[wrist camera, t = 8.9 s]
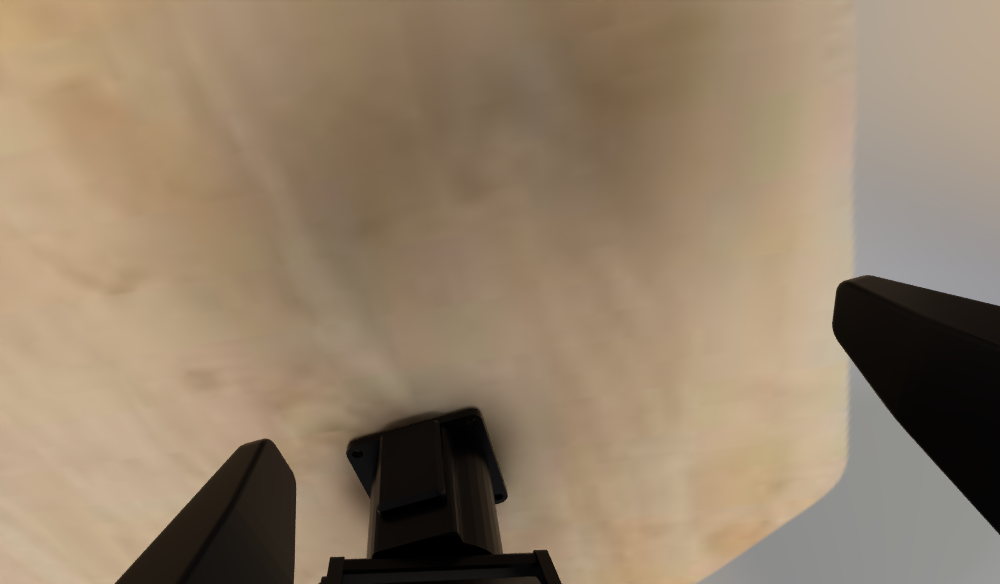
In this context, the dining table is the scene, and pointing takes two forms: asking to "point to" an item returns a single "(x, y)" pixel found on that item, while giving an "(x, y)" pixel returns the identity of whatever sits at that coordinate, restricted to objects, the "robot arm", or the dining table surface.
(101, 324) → the dining table surface
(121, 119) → the dining table surface
